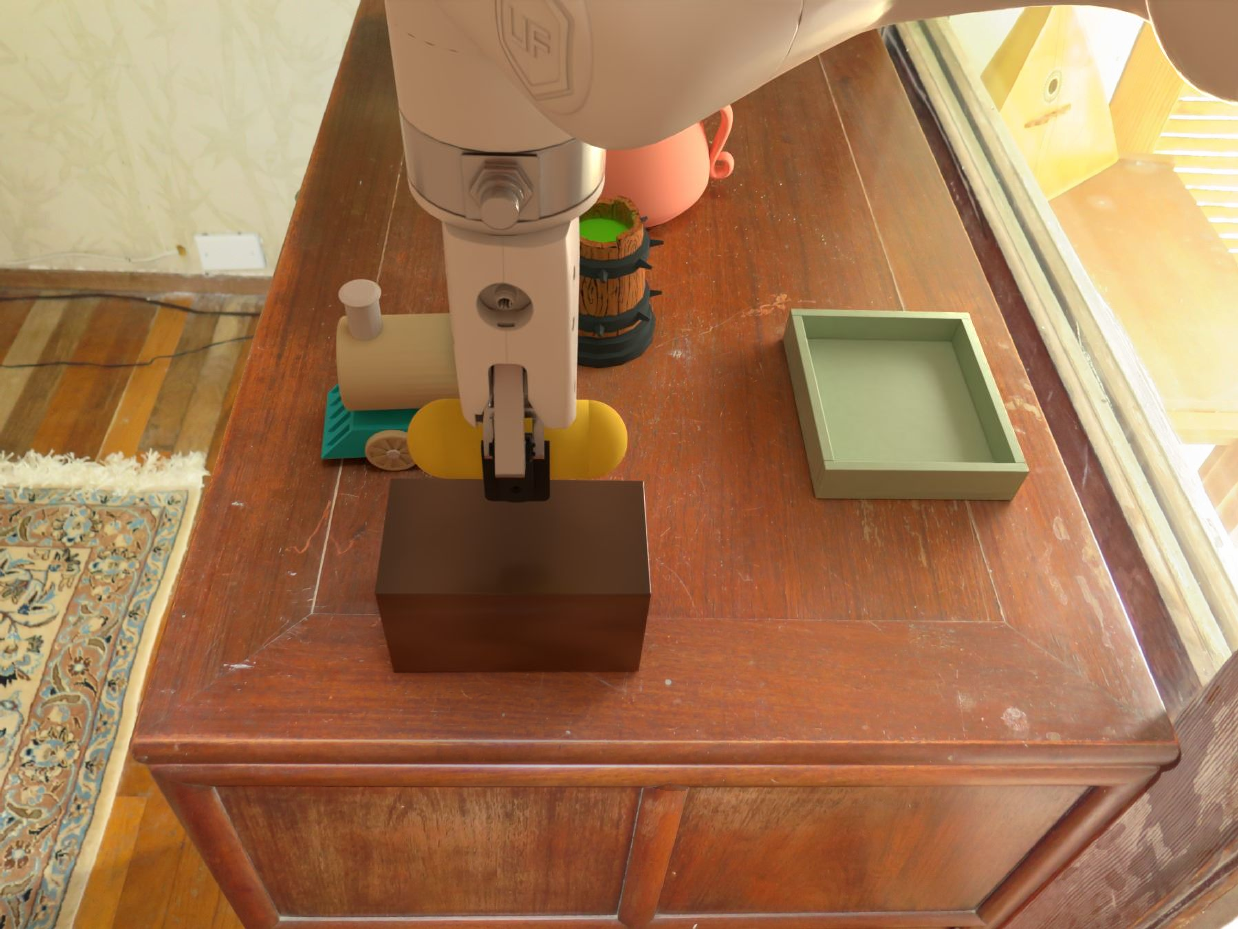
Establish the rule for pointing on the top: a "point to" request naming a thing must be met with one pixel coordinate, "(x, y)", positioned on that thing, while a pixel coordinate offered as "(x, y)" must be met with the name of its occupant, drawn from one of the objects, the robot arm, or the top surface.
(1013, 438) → the tray
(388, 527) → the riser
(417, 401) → the toy train
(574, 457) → the yellow capsule toy
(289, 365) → the top surface
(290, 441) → the top surface
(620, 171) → the teapot
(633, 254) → the mug
